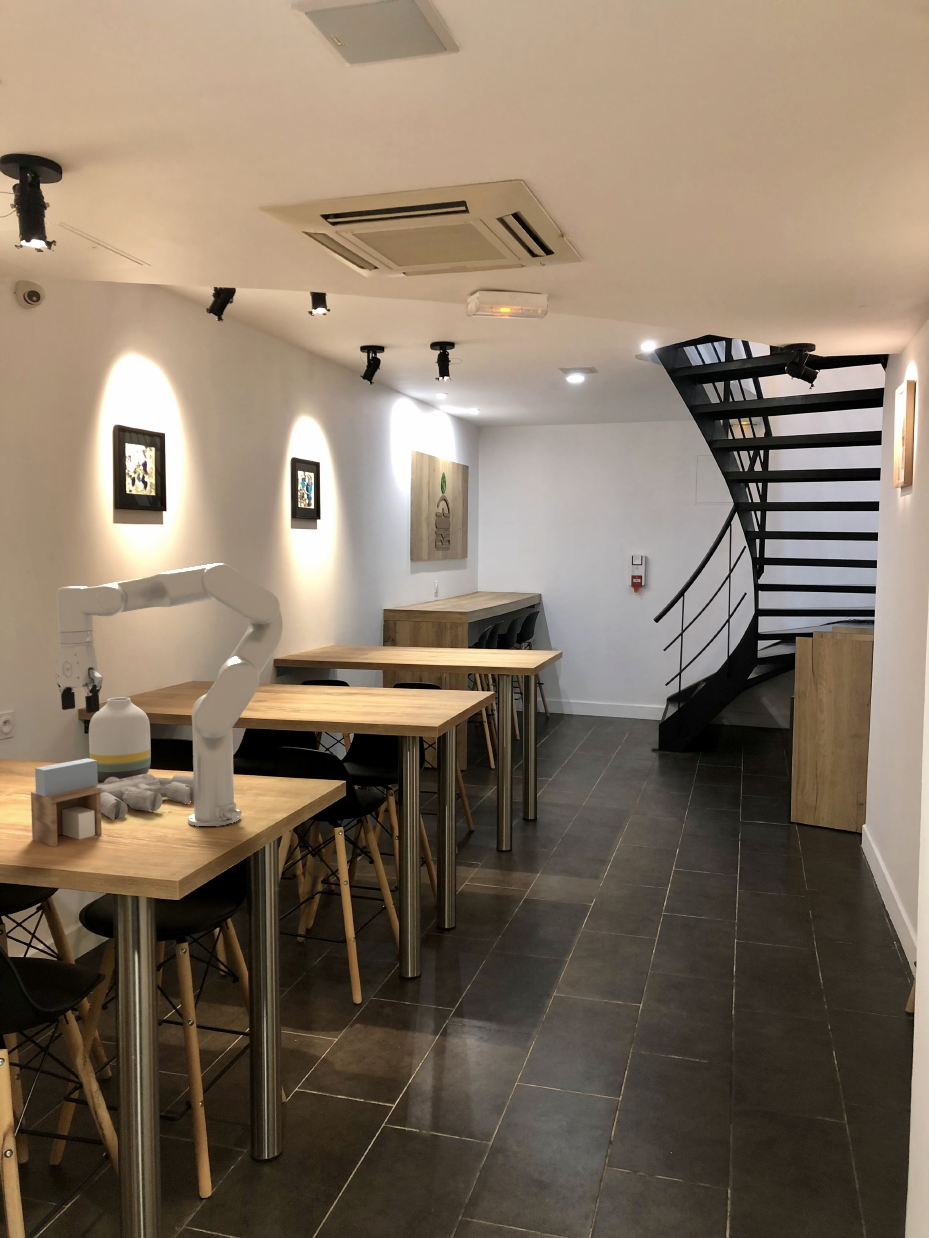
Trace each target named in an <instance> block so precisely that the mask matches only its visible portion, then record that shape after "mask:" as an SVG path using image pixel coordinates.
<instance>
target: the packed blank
mask: <svg viewBox="0 0 929 1238" xmlns="http://www.w3.org/2000/svg"><path fill="white" fill-rule="evenodd" d="M62 824H63V834H62V835H64V836H66V835H67V837H70V838H73V839H77V840H84V839H87V838H90V837H91V838H92V837H94V835H95V836H96V834H95V816H94V810H90V809H87V808H83V807H80V806H76V807H71V808H67V809H63V810H62Z"/></svg>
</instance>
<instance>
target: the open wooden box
mask: <svg viewBox="0 0 929 1238" xmlns="http://www.w3.org/2000/svg"><path fill="white" fill-rule="evenodd" d="M30 805H31V806H30V807H31V811H30V812H31V833H32V834H31V835H32V836H31V837H32V838H31V839H33V840H32V841H34V840H36V841H35V842H37V841H39V842H38V843H40V842H42V843H41V844H44V843H45V844H44V845H47V846H50V845H51V846H50V847H53V846H55V847H58V846H57V845H58V843H59V842H58V835H63V824H62V810H63V809H67V808H71V807H76V806H80V807H83V808H87V809H90V810H94V816H95V836H100V835H102V834H103V832H102V829H103V828H102V813H101V796H100V787H97V786H92V787H88V788H83V789H78V790H73V791H69V792H64V793H59V794H54V795H50V796H42V795H38V794H36V790H35V791H31V792H30Z"/></svg>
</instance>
